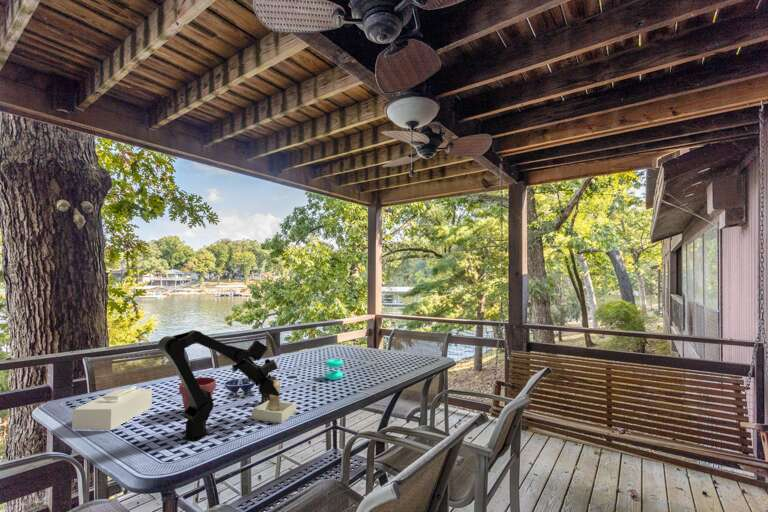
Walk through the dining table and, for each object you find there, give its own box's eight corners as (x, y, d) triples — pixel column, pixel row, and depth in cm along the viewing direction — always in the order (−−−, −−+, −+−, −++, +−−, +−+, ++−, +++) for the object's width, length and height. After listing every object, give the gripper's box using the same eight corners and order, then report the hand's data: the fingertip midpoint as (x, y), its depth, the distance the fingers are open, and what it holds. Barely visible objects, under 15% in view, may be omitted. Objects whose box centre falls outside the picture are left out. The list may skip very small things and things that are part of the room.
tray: (281, 423, 147) (281, 412, 147) (251, 419, 151) (251, 409, 151) (295, 412, 158) (296, 403, 158) (267, 409, 162) (267, 400, 162)
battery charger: (261, 404, 169) (261, 378, 169) (260, 401, 172) (261, 376, 173) (277, 402, 172) (277, 377, 172) (276, 399, 175) (276, 375, 176)
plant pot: (200, 419, 151) (201, 387, 152) (170, 416, 154) (171, 385, 155) (222, 406, 165) (222, 377, 166) (194, 404, 168) (194, 376, 169)
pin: (276, 412, 152) (277, 382, 153) (267, 411, 153) (268, 382, 154) (281, 408, 156) (281, 379, 157) (272, 408, 157) (272, 379, 158)
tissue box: (71, 432, 139) (73, 403, 139) (118, 408, 164) (119, 383, 164) (110, 432, 139) (111, 403, 140) (151, 408, 164) (152, 383, 164)
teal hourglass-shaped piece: (343, 362, 208) (325, 362, 207) (343, 380, 207) (325, 380, 206) (343, 358, 218) (326, 358, 217) (343, 375, 217) (326, 376, 216)
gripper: (268, 359, 146) (296, 384, 150) (262, 350, 163) (287, 373, 167) (247, 381, 142) (276, 406, 146) (243, 370, 159) (269, 393, 163)
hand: (278, 393), depth 155 cm, fingers closed on pin, 4 cm apart
